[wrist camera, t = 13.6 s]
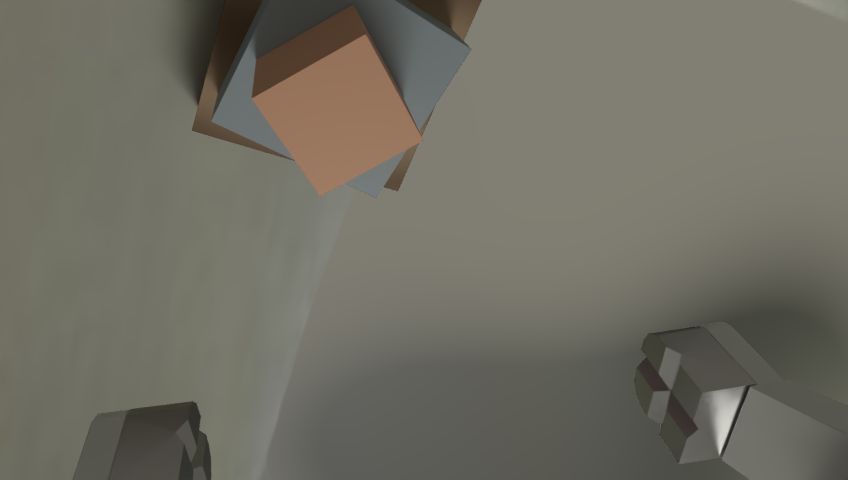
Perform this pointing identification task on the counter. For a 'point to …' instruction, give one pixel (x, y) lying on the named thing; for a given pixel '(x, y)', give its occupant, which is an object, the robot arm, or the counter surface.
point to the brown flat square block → (447, 3)
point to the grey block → (393, 37)
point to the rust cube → (333, 101)
